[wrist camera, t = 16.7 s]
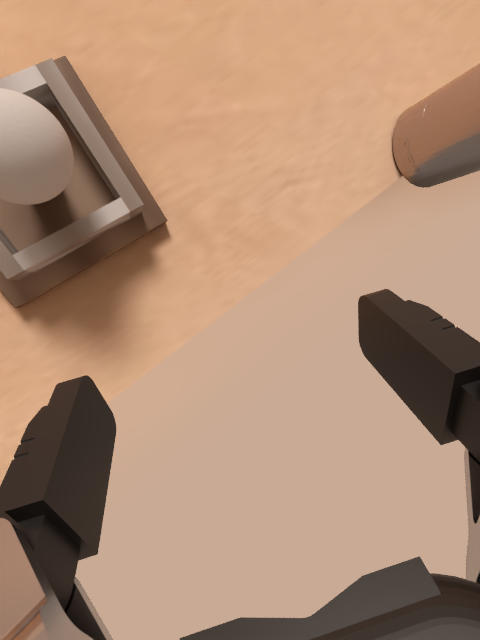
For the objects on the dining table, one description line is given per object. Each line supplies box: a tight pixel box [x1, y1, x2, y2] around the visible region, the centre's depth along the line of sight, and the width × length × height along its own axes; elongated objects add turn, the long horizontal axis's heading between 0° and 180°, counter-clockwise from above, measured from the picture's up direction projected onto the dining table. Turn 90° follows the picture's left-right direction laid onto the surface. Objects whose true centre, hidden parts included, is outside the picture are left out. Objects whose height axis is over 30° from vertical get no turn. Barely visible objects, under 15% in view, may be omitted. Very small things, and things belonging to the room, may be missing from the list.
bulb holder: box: [0, 56, 167, 308], centre depth 25 cm, size 14×14×4 cm
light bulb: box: [0, 88, 74, 205], centre depth 21 cm, size 6×6×10 cm
